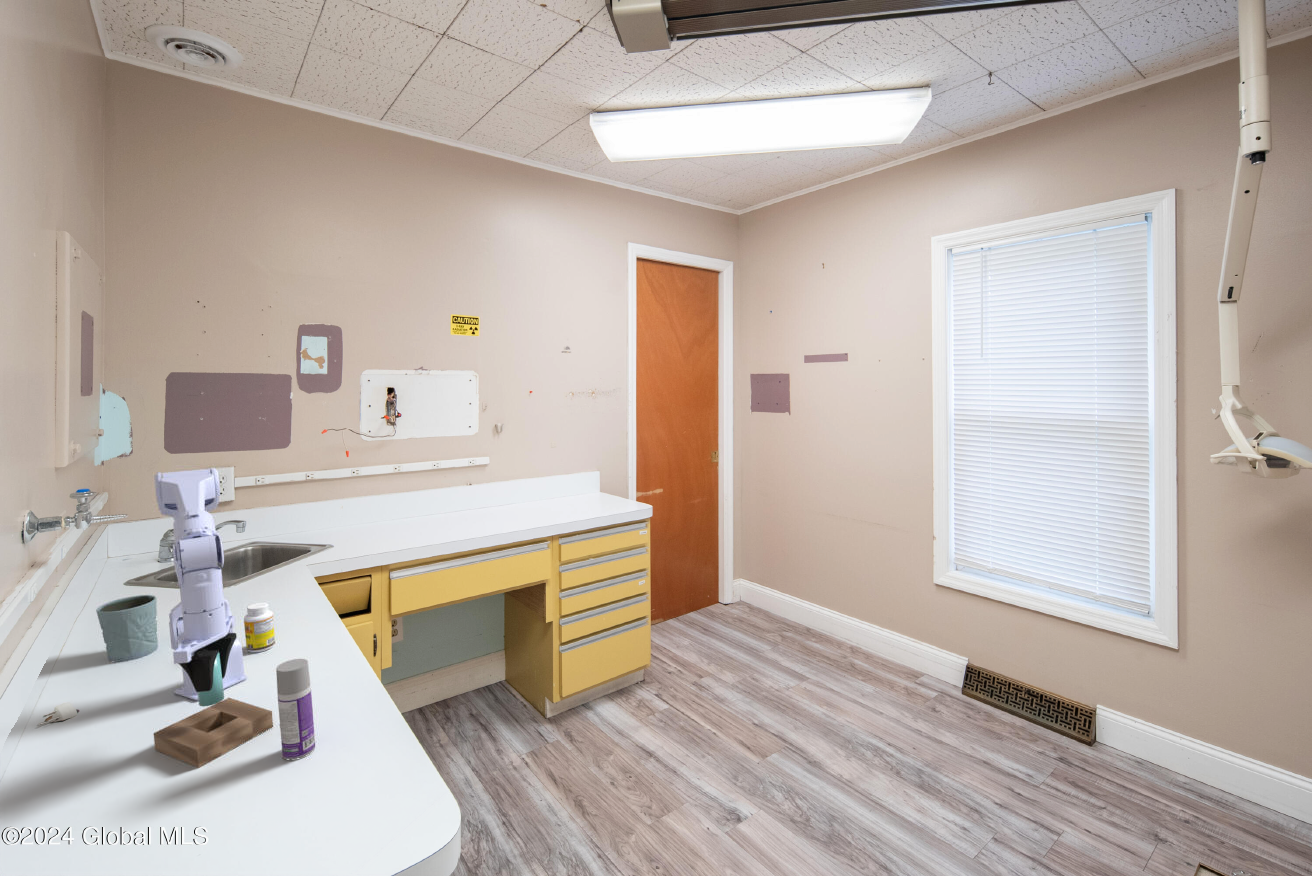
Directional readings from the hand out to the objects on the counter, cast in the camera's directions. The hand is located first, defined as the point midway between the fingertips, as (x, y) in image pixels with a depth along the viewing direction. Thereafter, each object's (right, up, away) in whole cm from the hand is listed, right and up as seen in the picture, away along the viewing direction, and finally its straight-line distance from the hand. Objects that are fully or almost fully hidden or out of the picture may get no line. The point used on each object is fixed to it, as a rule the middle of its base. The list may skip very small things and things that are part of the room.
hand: (210, 684), depth 102 cm
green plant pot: (-43, -7, +34) cm, 56 cm away
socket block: (0, -10, +1) cm, 10 cm away
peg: (0, -3, 0) cm, 3 cm away
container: (+17, -10, -3) cm, 20 cm away
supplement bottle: (-15, -7, +36) cm, 39 cm away
